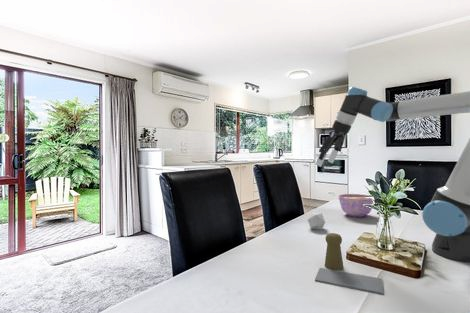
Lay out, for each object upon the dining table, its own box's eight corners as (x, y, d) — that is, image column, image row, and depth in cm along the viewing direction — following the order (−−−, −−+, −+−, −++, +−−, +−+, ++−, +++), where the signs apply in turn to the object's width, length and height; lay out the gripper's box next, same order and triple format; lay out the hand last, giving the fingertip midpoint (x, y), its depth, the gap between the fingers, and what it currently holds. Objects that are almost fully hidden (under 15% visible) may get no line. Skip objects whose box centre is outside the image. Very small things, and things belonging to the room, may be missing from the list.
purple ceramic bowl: (375, 213, 162) (375, 195, 162) (373, 221, 145) (373, 200, 145) (341, 210, 172) (341, 193, 172) (335, 217, 155) (335, 197, 155)
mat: (381, 279, 78) (381, 278, 78) (383, 294, 70) (383, 293, 70) (319, 268, 86) (319, 267, 86) (314, 280, 78) (314, 279, 78)
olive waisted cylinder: (331, 271, 84) (331, 237, 84) (321, 263, 90) (320, 232, 90) (347, 268, 86) (347, 235, 86) (335, 261, 92) (335, 230, 92)
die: (326, 228, 134) (317, 211, 139) (330, 224, 127) (320, 206, 131) (312, 235, 133) (303, 218, 138) (315, 231, 126) (305, 213, 130)
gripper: (345, 119, 128) (328, 157, 136) (324, 118, 109) (305, 163, 117) (360, 125, 123) (341, 164, 131) (341, 125, 105) (320, 171, 113)
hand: (324, 163), depth 124 cm, fingers open, 13 cm apart
